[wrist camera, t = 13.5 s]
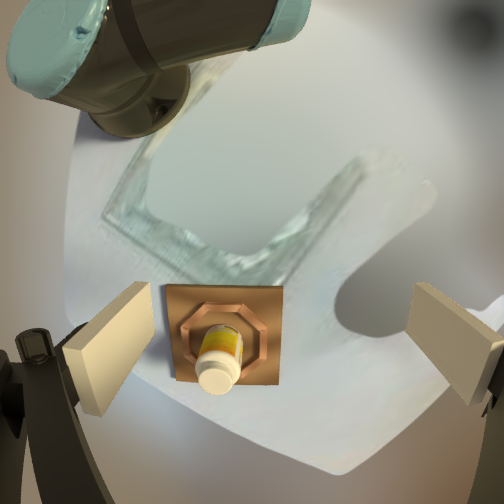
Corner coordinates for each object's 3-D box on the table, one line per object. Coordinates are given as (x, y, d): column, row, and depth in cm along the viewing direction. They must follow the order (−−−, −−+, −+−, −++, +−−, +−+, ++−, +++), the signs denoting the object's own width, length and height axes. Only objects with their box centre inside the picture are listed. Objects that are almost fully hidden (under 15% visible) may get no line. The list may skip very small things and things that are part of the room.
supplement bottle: (197, 331, 42) (182, 371, 33) (232, 317, 42) (224, 356, 32) (216, 361, 44) (206, 405, 34) (250, 348, 43) (247, 392, 33)
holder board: (167, 283, 42) (163, 289, 40) (282, 285, 42) (283, 291, 40) (178, 376, 46) (175, 384, 44) (278, 380, 46) (278, 388, 43)
